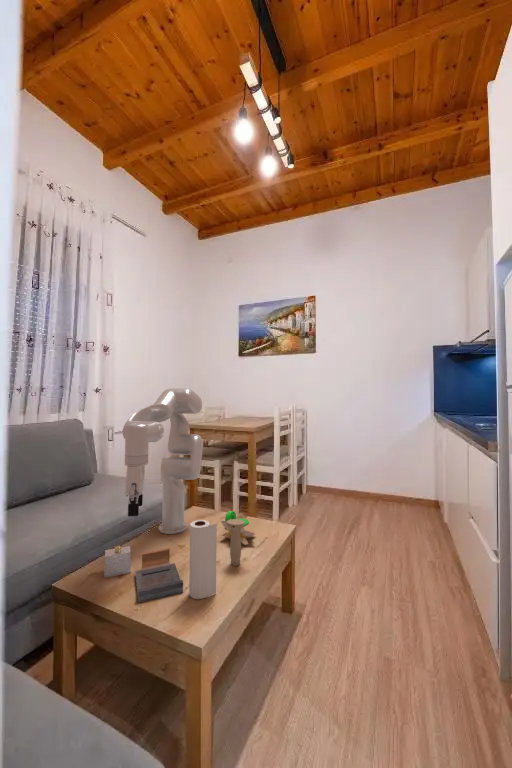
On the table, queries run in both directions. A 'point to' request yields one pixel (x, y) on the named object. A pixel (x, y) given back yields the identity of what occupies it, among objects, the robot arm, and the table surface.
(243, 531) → the decorative flower
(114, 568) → the block
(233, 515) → the mechanical part
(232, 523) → the handle
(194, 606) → the table surface
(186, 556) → the table surface
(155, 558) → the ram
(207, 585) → the paper towel roll
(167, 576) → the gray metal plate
